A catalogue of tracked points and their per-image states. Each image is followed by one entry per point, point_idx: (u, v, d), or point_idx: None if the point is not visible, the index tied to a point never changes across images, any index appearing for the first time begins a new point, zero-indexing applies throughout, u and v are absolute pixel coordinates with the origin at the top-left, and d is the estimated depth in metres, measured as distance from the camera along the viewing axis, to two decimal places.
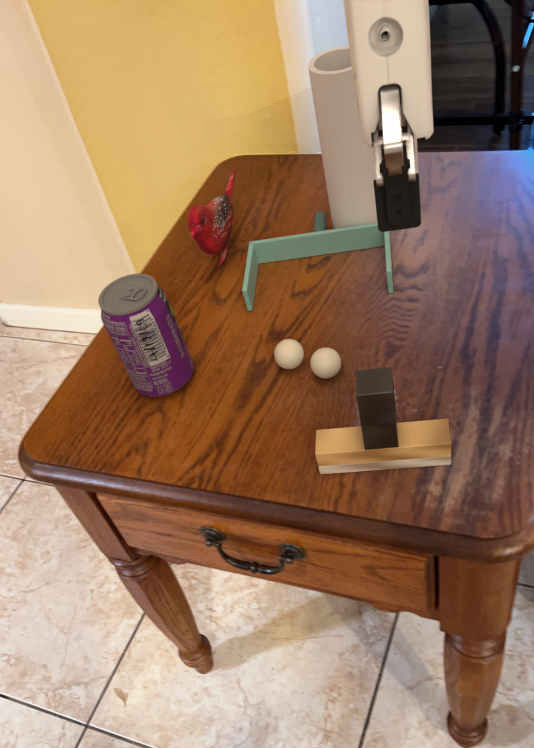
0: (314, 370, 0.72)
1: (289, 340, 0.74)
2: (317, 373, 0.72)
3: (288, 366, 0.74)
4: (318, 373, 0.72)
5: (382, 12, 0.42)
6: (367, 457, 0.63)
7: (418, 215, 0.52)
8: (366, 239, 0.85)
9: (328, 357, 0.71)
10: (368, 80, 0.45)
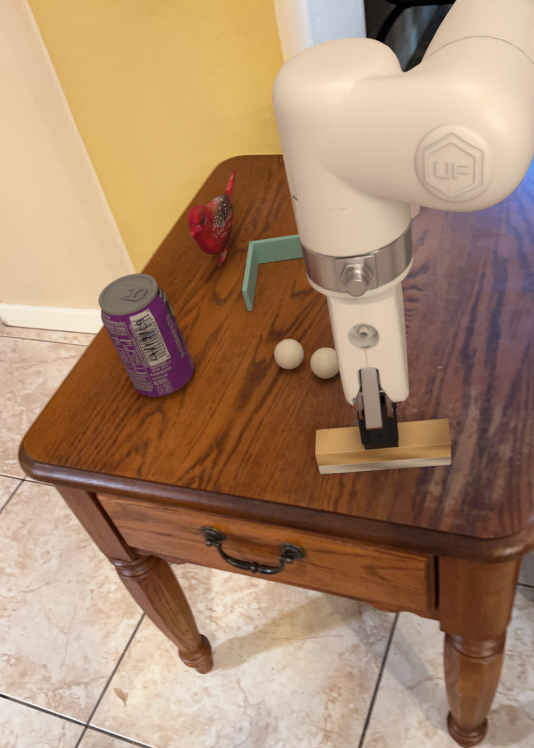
0: (314, 370, 0.72)
1: (289, 340, 0.74)
2: (317, 373, 0.72)
3: (288, 366, 0.74)
4: (318, 373, 0.72)
5: (360, 320, 0.47)
6: (367, 457, 0.63)
7: (396, 435, 0.60)
8: None
9: (328, 357, 0.71)
10: (349, 364, 0.50)
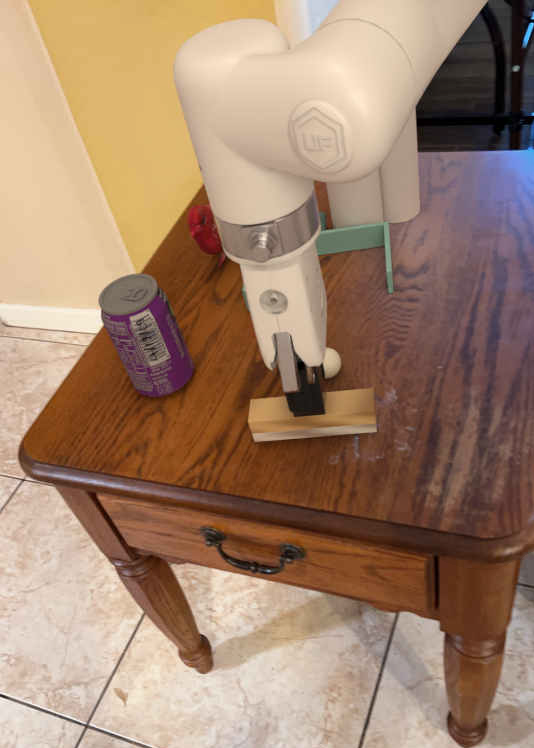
0: None
1: None
2: None
3: None
4: None
5: (269, 286, 0.51)
6: (297, 424, 0.67)
7: (321, 402, 0.63)
8: (366, 239, 0.85)
9: (328, 357, 0.71)
10: (263, 329, 0.53)
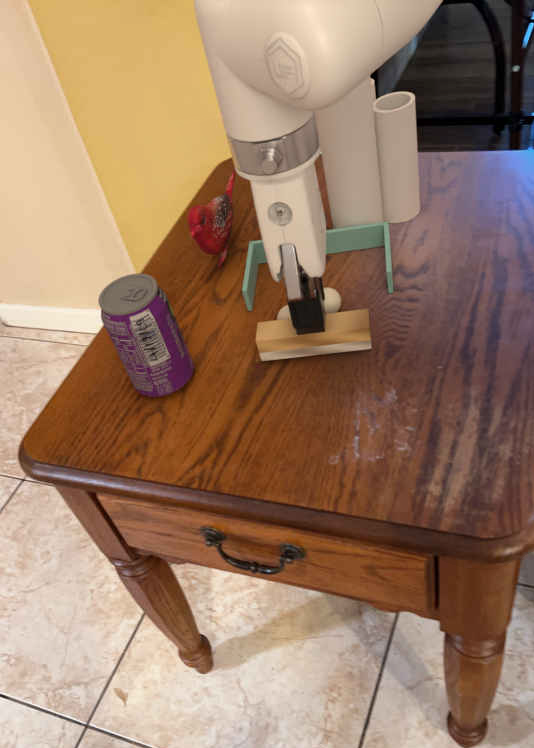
0: None
1: None
2: None
3: None
4: None
5: (276, 198, 0.58)
6: (300, 342, 0.74)
7: (321, 318, 0.70)
8: (366, 239, 0.85)
9: (329, 296, 0.77)
10: (270, 240, 0.61)
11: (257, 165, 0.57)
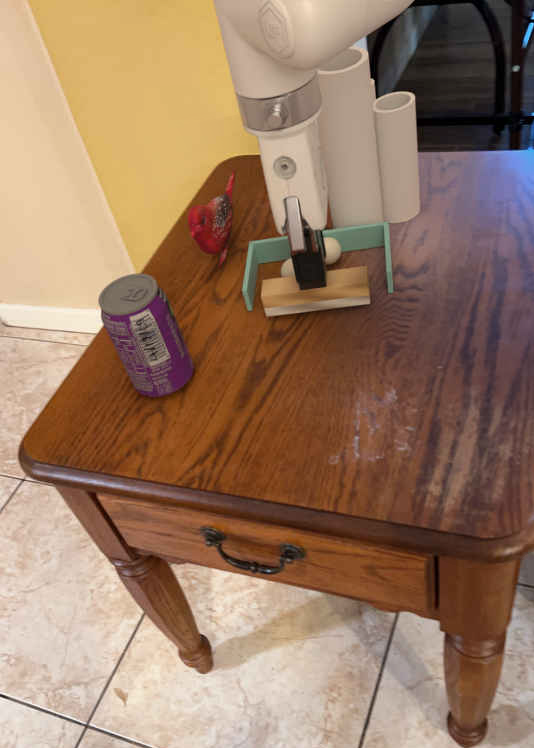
0: None
1: None
2: None
3: None
4: None
5: (281, 153, 0.63)
6: (302, 297, 0.79)
7: (323, 273, 0.75)
8: (366, 239, 0.85)
9: (330, 246, 0.83)
10: (275, 194, 0.65)
11: (264, 121, 0.61)
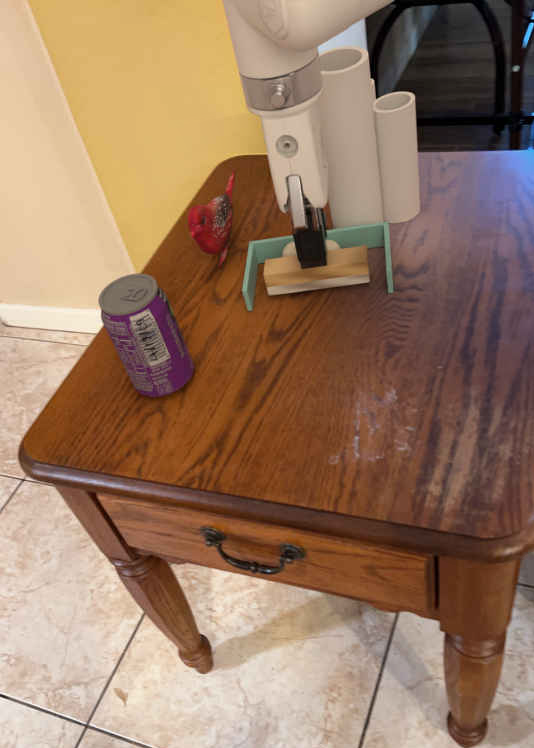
0: None
1: None
2: None
3: None
4: None
5: (283, 131, 0.65)
6: (304, 276, 0.81)
7: (323, 251, 0.77)
8: (366, 239, 0.85)
9: None
10: (278, 172, 0.68)
11: (267, 100, 0.64)
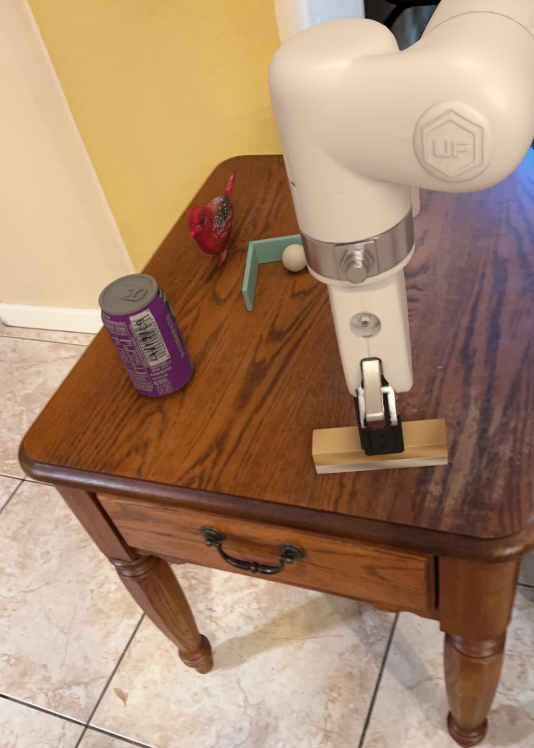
0: None
1: (296, 263, 0.84)
2: None
3: None
4: None
5: (361, 308, 0.46)
6: (364, 456, 0.63)
7: (401, 445, 0.56)
8: None
9: None
10: (351, 354, 0.49)
11: (340, 269, 0.45)
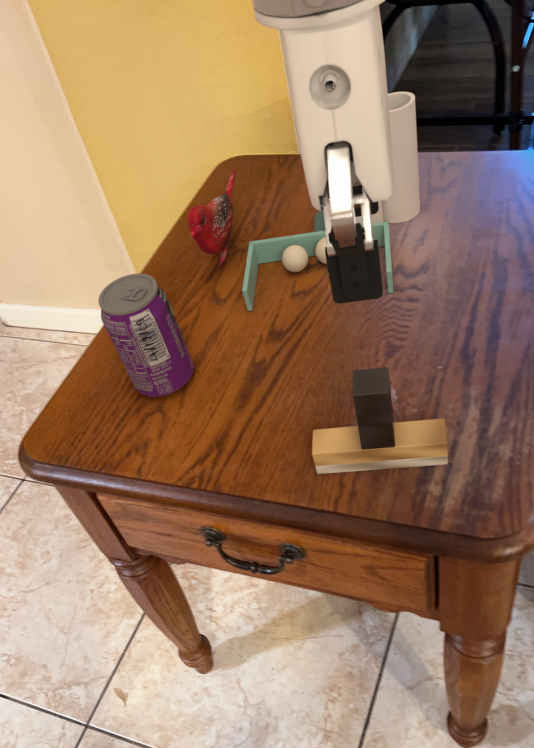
0: (318, 256, 0.85)
1: (296, 265, 0.84)
2: (321, 259, 0.85)
3: None
4: (322, 259, 0.85)
5: (324, 58, 0.35)
6: (364, 456, 0.63)
7: (379, 286, 0.44)
8: None
9: None
10: (312, 137, 0.38)
11: None
